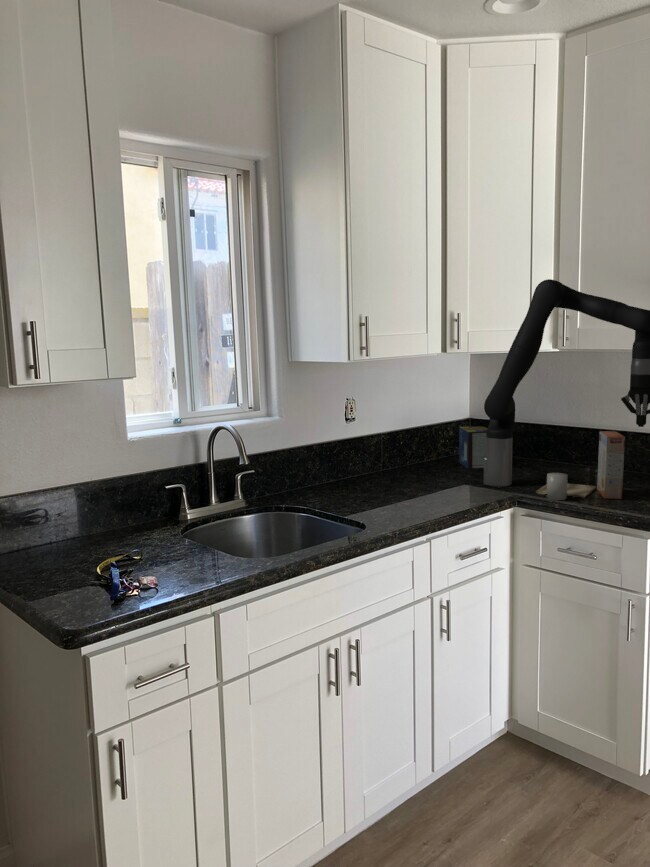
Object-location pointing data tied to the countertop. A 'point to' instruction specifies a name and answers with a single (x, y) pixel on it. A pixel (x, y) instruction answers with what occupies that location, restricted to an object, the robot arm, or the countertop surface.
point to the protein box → (472, 446)
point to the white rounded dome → (556, 486)
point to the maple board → (572, 490)
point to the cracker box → (610, 464)
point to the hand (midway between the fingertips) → (641, 426)
